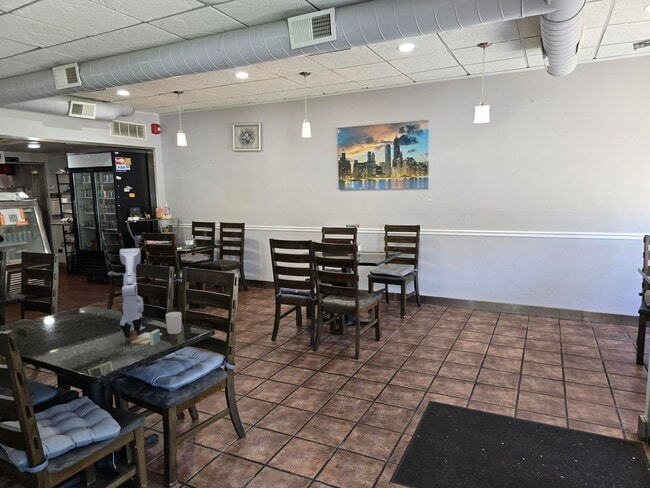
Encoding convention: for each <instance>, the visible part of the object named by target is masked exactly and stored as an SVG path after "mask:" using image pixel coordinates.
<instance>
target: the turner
mask: <svg viewBox="0 0 650 488" xmlns="http://www.w3.org/2000/svg"><path fill="white" fill-rule="evenodd" d="M137 334H138V333H136V331H135V330H131V331H130V338H127V341H128V343H130V344H135V343H136V344H137V345H147V344H148V343H149V344H150V339H145V338H137V337H138V336H137Z"/></svg>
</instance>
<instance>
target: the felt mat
mask: <svg viewBox="0 0 650 488" xmlns="http://www.w3.org/2000/svg"><path fill="white" fill-rule="evenodd" d="M150 333H151V332H143V333H141V334H140V335H138V336H137V339H138V338H145V339H150ZM162 335H163V332H162V333H161V332H160V336H162Z"/></svg>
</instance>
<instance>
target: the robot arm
mask: <svg viewBox="0 0 650 488" xmlns="http://www.w3.org/2000/svg"><path fill="white" fill-rule="evenodd" d="M141 256H142V255H141V248H140V247H138V248H137V247H135V248H133V247H132V248H120V249H119V259H120V262H121V264H122V265H124V266H125V273H124V274H123V279H122V280H123V286H122V287H121V295H122V298H123V299H122V313H123V314H122V316H121V319H120V321H119V328H120V332H122V333H123V335H124V339H128V338H130V331H131V330H135V331H136V333H137V334H140V331H142V330H143V329H145V328H146V327H145V326H142V323H143V322H144V318H143V314H142V313H143V312H144V301H143V297H142V296H139V295H138V286H137V265H138V264H140V263H141V259H142V258H141Z"/></svg>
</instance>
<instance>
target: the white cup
mask: <svg viewBox="0 0 650 488" xmlns="http://www.w3.org/2000/svg"><path fill="white" fill-rule="evenodd" d="M165 322H166V323H165V324H166V329H167V331H166V332H167V334H169V335H178V334H180V333H181V332H182V323H183V322H182V312H181V311H172V312H168V313H166V314H165Z"/></svg>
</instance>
